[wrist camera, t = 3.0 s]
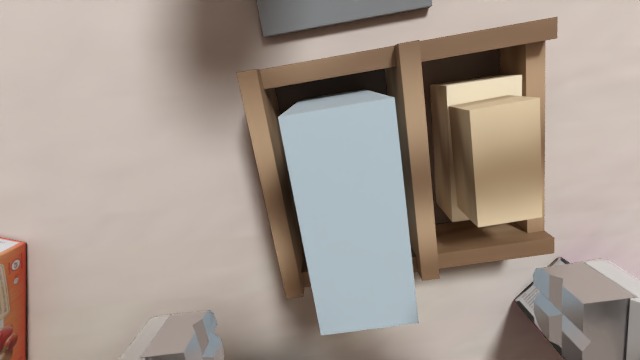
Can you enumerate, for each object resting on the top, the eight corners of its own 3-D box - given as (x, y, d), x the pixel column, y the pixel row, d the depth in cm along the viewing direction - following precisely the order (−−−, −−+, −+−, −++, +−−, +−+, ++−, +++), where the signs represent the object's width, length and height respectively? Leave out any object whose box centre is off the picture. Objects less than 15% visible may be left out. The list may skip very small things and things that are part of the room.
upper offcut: (448, 106, 19) (469, 110, 17) (508, 95, 19) (539, 97, 16) (457, 207, 21) (478, 227, 18) (512, 198, 21) (542, 217, 18)
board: (300, 99, 23) (277, 117, 12) (362, 88, 22) (394, 97, 12) (323, 227, 25) (320, 335, 14) (379, 219, 25) (418, 323, 14)
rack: (256, 74, 22) (236, 72, 17) (515, 28, 21) (570, 13, 16) (294, 257, 26) (286, 298, 21) (518, 226, 25) (564, 261, 20)
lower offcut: (428, 84, 22) (446, 85, 19) (492, 75, 22) (522, 75, 19) (435, 202, 25) (452, 221, 21) (493, 195, 24) (520, 213, 21)
